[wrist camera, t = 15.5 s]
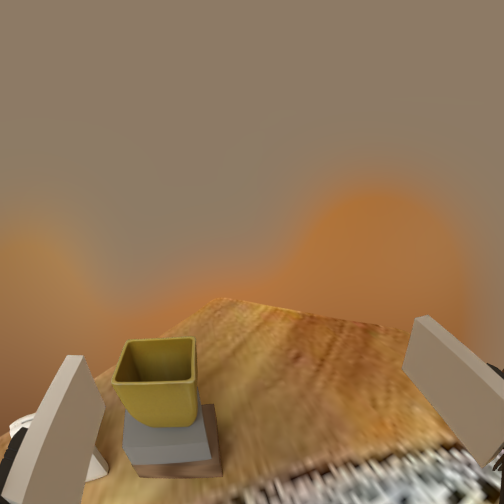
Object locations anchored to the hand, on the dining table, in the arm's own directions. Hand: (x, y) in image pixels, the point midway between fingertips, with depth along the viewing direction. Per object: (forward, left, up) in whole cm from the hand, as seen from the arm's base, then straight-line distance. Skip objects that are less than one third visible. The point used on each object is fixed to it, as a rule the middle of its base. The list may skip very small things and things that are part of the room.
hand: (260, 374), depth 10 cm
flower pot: (+8, -18, -21) cm, 29 cm away
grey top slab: (+9, -17, -25) cm, 32 cm away
